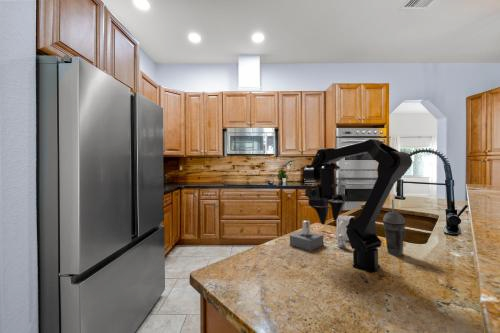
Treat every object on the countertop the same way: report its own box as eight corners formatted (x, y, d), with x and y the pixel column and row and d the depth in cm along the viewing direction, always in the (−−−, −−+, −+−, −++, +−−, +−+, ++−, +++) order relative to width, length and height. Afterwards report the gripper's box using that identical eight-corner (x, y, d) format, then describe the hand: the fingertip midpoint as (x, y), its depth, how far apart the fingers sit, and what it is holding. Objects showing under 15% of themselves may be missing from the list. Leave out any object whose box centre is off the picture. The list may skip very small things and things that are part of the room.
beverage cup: (385, 255, 83) (383, 200, 83) (382, 249, 90) (380, 198, 90) (408, 258, 80) (407, 201, 81) (403, 251, 87) (402, 198, 87)
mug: (346, 234, 111) (345, 214, 111) (363, 239, 103) (362, 218, 103) (328, 238, 105) (327, 217, 105) (344, 243, 97) (343, 221, 97)
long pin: (311, 244, 97) (311, 221, 97) (307, 246, 95) (307, 222, 95) (305, 243, 99) (305, 220, 99) (301, 244, 97) (301, 221, 97)
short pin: (347, 247, 93) (346, 235, 93) (343, 249, 91) (343, 236, 91) (339, 245, 95) (339, 233, 95) (336, 247, 93) (336, 235, 93)
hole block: (323, 244, 97) (323, 235, 97) (310, 250, 90) (310, 240, 90) (303, 239, 104) (303, 230, 104) (289, 244, 97) (289, 235, 97)
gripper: (321, 180, 100) (322, 215, 99) (295, 182, 87) (297, 223, 87) (346, 180, 92) (348, 219, 91) (322, 182, 79) (324, 228, 79)
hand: (329, 222), depth 87 cm, fingers open, 9 cm apart
